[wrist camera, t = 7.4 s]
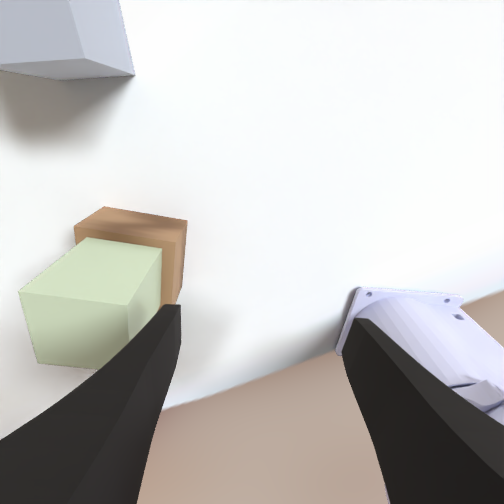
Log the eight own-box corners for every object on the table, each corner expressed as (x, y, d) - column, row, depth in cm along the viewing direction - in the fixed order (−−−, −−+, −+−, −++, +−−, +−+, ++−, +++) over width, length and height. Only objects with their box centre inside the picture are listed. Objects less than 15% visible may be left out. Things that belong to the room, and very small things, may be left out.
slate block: (112, -31, 14) (36, -111, 9) (135, 75, 16) (85, 58, 11) (25, -24, 14) (-99, -101, 9) (59, 80, 16) (-25, 65, 11)
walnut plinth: (188, 219, 20) (175, 242, 16) (182, 284, 23) (170, 316, 19) (105, 205, 19) (73, 226, 16) (109, 274, 22) (83, 304, 19)
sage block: (160, 304, 19) (130, 372, 14) (93, 295, 18) (37, 363, 13) (162, 248, 17) (127, 305, 12) (86, 237, 16) (17, 291, 11)
